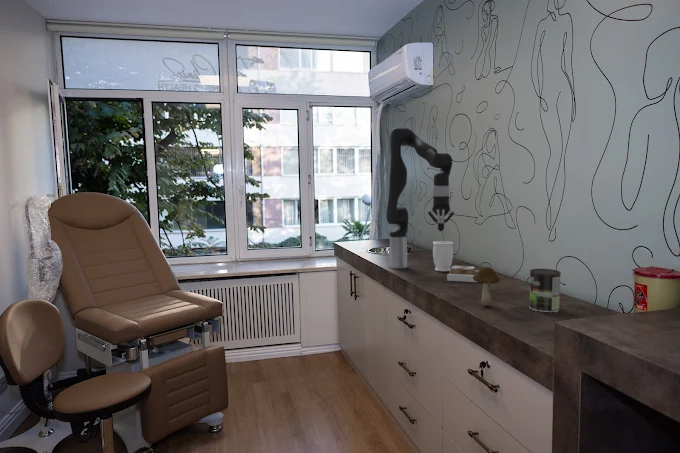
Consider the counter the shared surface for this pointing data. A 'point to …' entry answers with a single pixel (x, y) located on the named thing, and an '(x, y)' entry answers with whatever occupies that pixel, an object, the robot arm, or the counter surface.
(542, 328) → the counter surface
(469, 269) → the brown and white block
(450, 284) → the counter surface
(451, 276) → the bay
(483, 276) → the mushroom
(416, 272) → the counter surface
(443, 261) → the jar
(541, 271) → the coffee can
